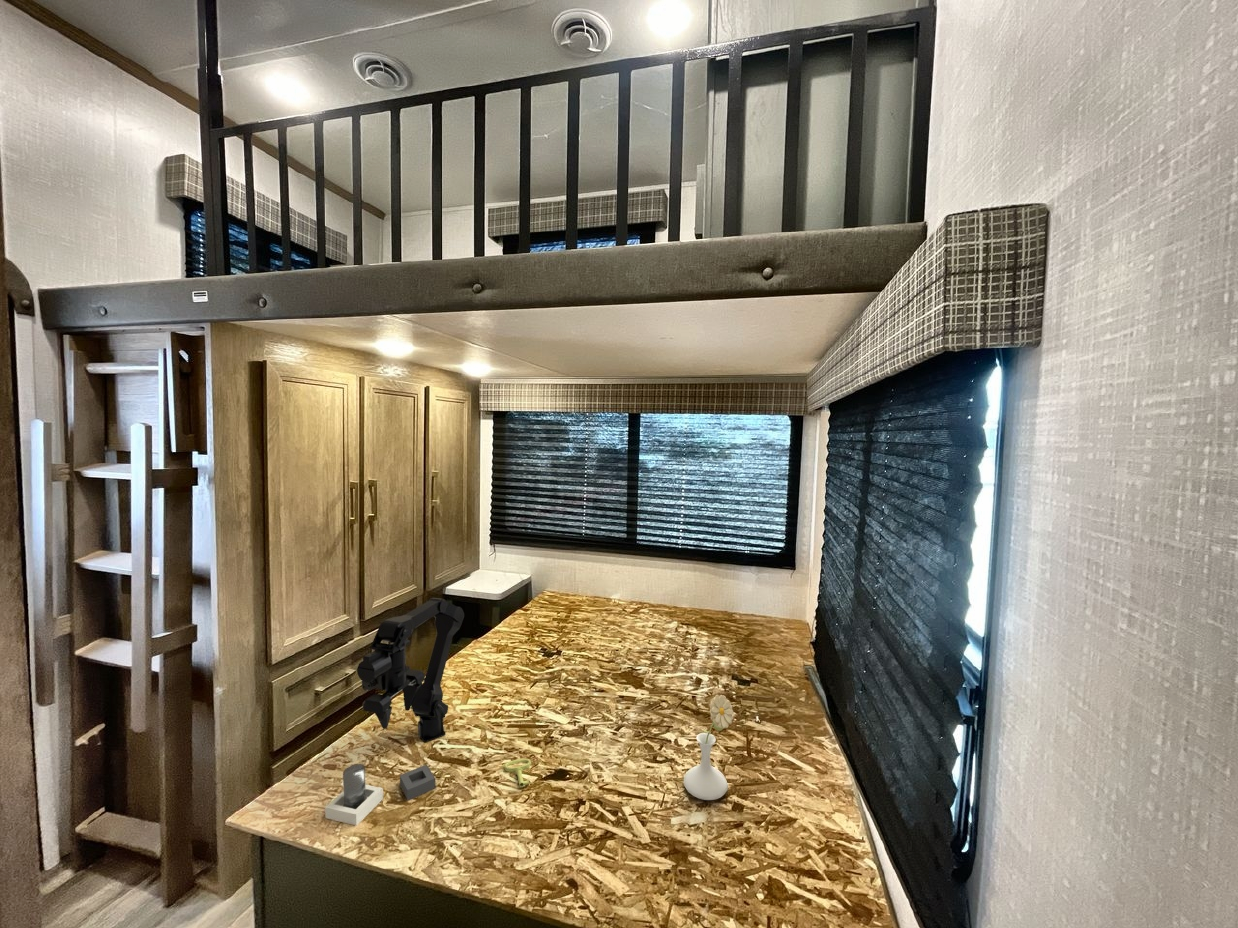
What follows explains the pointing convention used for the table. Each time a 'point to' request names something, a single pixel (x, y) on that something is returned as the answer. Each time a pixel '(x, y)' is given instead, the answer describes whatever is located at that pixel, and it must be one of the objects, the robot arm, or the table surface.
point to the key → (518, 770)
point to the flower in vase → (704, 777)
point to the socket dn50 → (354, 815)
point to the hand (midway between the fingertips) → (396, 719)
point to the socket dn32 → (417, 782)
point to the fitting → (354, 786)
